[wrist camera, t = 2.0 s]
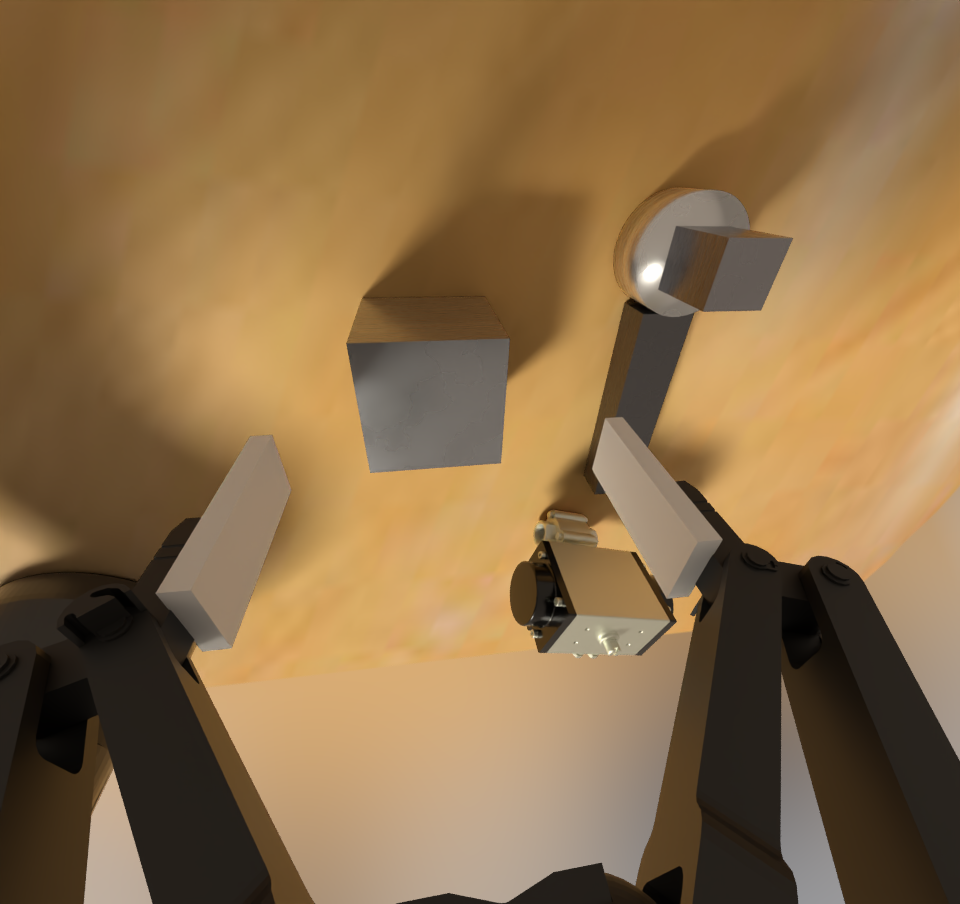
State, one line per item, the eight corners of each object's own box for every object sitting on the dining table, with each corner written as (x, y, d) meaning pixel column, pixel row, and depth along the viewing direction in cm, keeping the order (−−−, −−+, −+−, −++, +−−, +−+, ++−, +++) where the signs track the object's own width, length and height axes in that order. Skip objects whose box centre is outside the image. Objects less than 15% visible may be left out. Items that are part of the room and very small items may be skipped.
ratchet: (567, 476, 32) (601, 541, 27) (627, 185, 21) (709, 193, 15) (634, 470, 33) (680, 532, 28) (729, 188, 21) (844, 196, 16)
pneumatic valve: (511, 494, 33) (554, 630, 23) (624, 513, 36) (702, 637, 27) (488, 538, 35) (518, 676, 26) (595, 552, 39) (656, 676, 30)
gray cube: (378, 406, 26) (370, 472, 20) (361, 298, 22) (346, 343, 16) (481, 401, 27) (500, 463, 21) (484, 296, 23) (509, 338, 17)
